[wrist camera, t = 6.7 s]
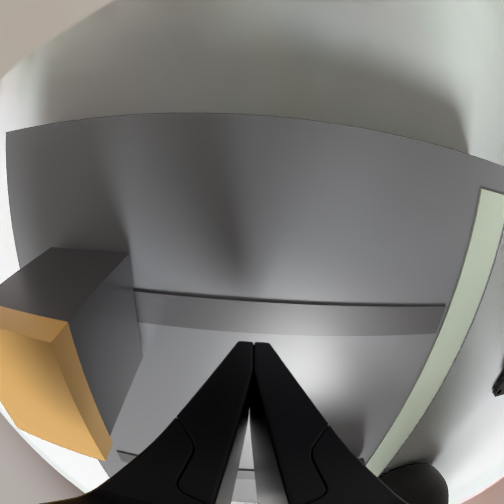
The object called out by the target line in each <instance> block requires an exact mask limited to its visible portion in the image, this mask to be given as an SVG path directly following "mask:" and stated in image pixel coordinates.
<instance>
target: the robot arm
mask: <svg viewBox="0 0 504 504" xmlns="http://www.w3.org/2000/svg"><path fill="white" fill-rule="evenodd" d="M492 393H493V394H494V396H495V397H496V396H499V395H502V394H504V373H503V375H502V377H501V378H500V380H499V382H498V383H497V385H496V386H495V388H494V390H493V392H492ZM249 409H250V410H249ZM248 419H249V420H250V433H251V443H252V453H253V464H254V473H255V483H256V493H257V502H258V504H408V503H407V502H405V501H404V500H402V499H401V498H400V497H399V496H397V495H396V494H395V493H394V492H393V491H392V490H391V489H389V488H388V487H387V486H386V485H385V484H384V483H383V482H382V481H381V480H380V479H379V478H378V477H377V476H375V475H374V474H373V473H372V472H371V471H370V470H369V469H368V468H367V467H366V466H365V465H364V464H363V463H362V462H361V461H360V460H359V459H358V458H357V457H356V456H355V455H354V454H353V453H352V452H351V451H350V450H349V448H348V447H347V446H346V445H345V444H344V442H343V441H342V440H341V439H340V438H339V436H338V435H337V434H336V433H335V431H334V430H333V429H332V427H331V426H328V425H329V424H328V422H327V421H326V419H325V418H324V417H323V415H322V414H321V413H320V411H319V410H318V409H317V407H316V406H315V405H314V403H313V402H312V401H311V399H310V398H309V397H308V395H307V394H306V393H305V391H304V390H303V389H302V387H301V386H300V384H299V383H298V382H297V380H296V379H295V378H294V376H293V375H292V374H291V372H290V371H289V369H288V368H287V367H286V365H285V364H284V362H283V361H282V360H281V358H280V357H279V355H278V354H277V353H276V351H275V350H274V348H273V347H272V346H271V344H270V343H266V342H255V343H254V344H253V342H249V341H238V342H237V343H236V344H235V346H234V347H233V348H232V350H231V351H230V352H229V353H228V354H227V356H226V357H225V358H224V359H223V361H222V362H221V363H220V364H219V366H218V367H217V368H216V369H215V371H214V372H213V373H212V374H211V375H210V377H209V378H208V379H207V380H206V382H205V383H204V384H203V385H202V386H201V388H200V389H199V390H198V391H197V392H196V394H195V395H194V396H193V397H192V398H191V400H190V401H189V402H188V403H187V404H186V406H185V407H184V408H183V409H182V410H181V411H180V413H179V414H178V415H177V418H174V419H173V421H172V422H171V423H170V424H169V425H168V426H167V428H166V429H165V430H164V431H163V432H162V433H161V434H160V435H159V436H158V437H157V438H156V439H155V440H154V441H153V442H152V443H151V444H150V445H149V446H148V447H147V448H146V449H144V450H143V451H142V452H141V453H140V454H139V455H138V456H136V457H135V458H134V459H133V460H132V461H130V462H129V463H128V464H127V465H125V466H124V467H123V468H122V469H120V470H119V471H118V472H117V473H115V474H114V475H113V476H112V477H110V478H109V479H108V480H107V481H105V482H104V483H103V484H101V485H100V486H99V487H97V488H95V489H94V490H92V491H90V492H88V493H86V494H84V495H81V496H78V497H74V498H70V499H65V500H59V501H54V502H48V503H41V504H231V500H232V496H233V491H234V487H235V482H236V478H237V473H238V468H239V464H240V459H241V454H242V449H243V444H244V440H245V435H246V430H247V425H248Z"/></svg>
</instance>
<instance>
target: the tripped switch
mask: <svg viewBox="0 0 504 504" xmlns="http://www.w3.org/2000/svg"><path fill="white" fill-rule="evenodd" d="M142 359H143V352H142V347H141V341H140V335H139V328H138V322H137V315H136V308H135V300H134V292H133V283H132V274H131V264H130V253H121V252H108V251H96V250H83V249H71V248H59V247H51V248H49V249H48V250H46V251H45V252H44V253H42V254H41V255H39V256H38V257H36V258H35V259H34V260H32V261H31V262H29V263H28V264H27V265H25V266H24V267H23V268H21V269H20V270H19V271H17V272H16V273H14V274H13V275H12V276H11V277H9V278H8V279H7V280H5V281H4V282H3V283H1V284H0V401H1V403H2V404H3V406H4V408H5V409H6V411H7V412H8V414H9V416H10V417H11V419H12V420H13V422H14V423H15V425H16V426H17V427H18V428H19V429H21V430H23V431H25V432H27V433H30V434H32V435H34V436H36V437H39V438H41V439H43V440H46V441H48V442H51V443H53V444H56V445H58V446H61V447H63V448H66V449H69V450H72V451H75V452H77V453H80V454H83V455H86V456H89V457H93V458H96V459H99V460H102V461H106V460H107V457H108V454H109V452H110V449H111V446H112V444H113V442H112V440H111V438H110V436H111V433H112V430H113V428H114V425H115V423H116V420H117V418H118V415H119V413H120V411H121V408H122V406H123V403H124V401H125V398H126V396H127V394H128V391H129V389H130V387H131V384H132V382H133V380H134V377H135V375H136V373H137V370H138V368H139V366H140V363H141V361H142Z"/></svg>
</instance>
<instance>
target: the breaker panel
mask: <svg viewBox="0 0 504 504" xmlns="http://www.w3.org/2000/svg"><path fill="white" fill-rule="evenodd" d="M6 168H7V184H8V195H9V205H10V213H11V221H12V228H13V234H14V240H15V246H16V251H17V256H18V261H19V266H20V269H21V268H23V267H24V266H25V265H27V264H28V263H29V262H31V261H32V260H34V259H35V258H36V257H38V256H39V255H41V254H42V253H44V252H45V251H46V250H48V249H49V248H51V247H59V248H71V249H83V250H96V251H108V252H121V253H130V264H131V274H132V283H133V292H134V300H135V308H136V315H137V322H138V328H139V335H140V341H141V347H142V352H143V359H142V361H141V363H140V366H139V368H138V370H137V373H136V375H135V377H134V380H133V382H132V384H131V387H130V389H129V391H128V394H127V396H126V398H125V401H124V403H123V406H122V408H121V411H120V413H119V415H118V418H117V420H116V423H115V425H114V428H113V430H112V433H111V436H110V438H111V440H112V442H113V444H112V446H111V449H110V452H109V454H108V457H107V460H106V461H102V460H99V459H98V461H99V462H100V464H101V465H102V467H103V468H104V470H105V471H106V473H107V474H108V476H109V477H112V476H113V475H114V474H115V473H117V472H118V471H119V470H120V469H122V468H123V467H124V466H125V465H127V464H128V463H129V462H130V461H132V460H133V459H134V458H135V457H136V456H138V455H139V454H140V453H141V452H142V451H143V450H144V449H146V448H147V447H148V446H149V445H150V444H151V443H152V442H153V441H154V440H155V439H156V438H157V437H158V436H159V435H160V434H161V433H162V432H163V431H164V430H165V429H166V428H167V426H168V425H169V424H170V423H171V422H172V421H173V419H174V418H177V415H178V414H179V413H180V411H181V410H182V409H183V408H184V407H185V406H186V404H187V403H188V402H189V401H190V400H191V398H192V397H193V396H194V395H195V394H196V392H197V391H198V390H199V389H200V388H201V386H202V385H203V384H204V383H205V382H206V380H207V379H208V378H209V377H210V375H211V374H212V373H213V372H214V371H215V369H216V368H217V367H218V366H219V364H220V363H221V362H222V361H223V359H224V358H225V357H226V356H227V354H228V353H229V352H230V351H231V350H232V348H233V347H234V346H235V344H236V343H237V342H238V341H249V342H253V344H254V343H255V342H266V343H270V344H271V346H272V347H273V348H274V350H275V351H276V353H277V354H278V355H279V357H280V358H281V360H282V361H283V362H284V364H285V365H286V367H287V368H288V369H289V371H290V372H291V374H292V375H293V376H294V378H295V379H296V380H297V382H298V383H299V384H300V386H301V387H302V389H303V390H304V391H305V393H306V394H307V395H308V397H309V398H310V399H311V401H312V402H313V403H314V405H315V406H316V407H317V409H318V410H319V411H320V413H321V414H322V415H323V417H324V418H325V419H326V421H327V422H328V424H329V425H328V426H331V427H332V429H333V430H334V431H335V433H336V434H337V435H338V436H339V438H340V439H341V440H342V441H343V442H344V444H345V445H346V446H347V447H348V448H349V450H350V451H351V452H352V453H353V454H354V455H355V456H356V457H357V458H364V461H365V465H366V467H367V468H368V469H369V470H370V471H371V472H372V473H373V474H374V475H375V476H377V477H379V475H380V474H381V473H382V472H383V471H384V469H385V468H386V467H387V466H388V464H389V463H390V462H391V461H392V459H393V458H394V457H395V455H396V454H397V453H398V451H399V450H400V449H401V447H402V446H403V445H404V443H405V442H406V441H407V439H408V438H409V436H410V435H411V433H412V432H413V431H414V429H415V428H416V426H417V425H418V423H419V422H420V420H421V419H422V417H423V416H424V414H425V412H426V411H427V409H428V408H429V406H430V404H431V403H432V401H433V399H434V398H435V396H436V394H437V393H438V391H439V389H440V388H441V386H442V384H443V382H444V380H445V379H446V377H447V375H448V373H449V371H450V369H451V367H452V365H453V364H454V362H455V360H456V358H457V356H458V354H459V352H460V349H461V347H462V345H463V343H464V341H465V339H466V337H467V334H468V332H469V330H470V328H471V325H472V323H473V321H474V318H475V316H476V313H477V311H478V308H479V306H480V303H481V301H482V298H483V295H484V292H485V290H486V287H487V284H488V281H489V278H490V275H491V272H492V269H493V266H494V262H495V259H496V256H497V252H498V249H499V245H500V241H501V238H502V234H503V230H504V166H501V165H498V164H496V163H493V162H490V161H487V160H484V159H481V158H478V157H475V156H472V155H469V154H466V153H463V152H460V151H456V150H453V149H450V148H446V147H443V146H439V145H435V144H432V143H428V142H424V141H420V140H416V139H412V138H408V137H403V136H399V135H394V134H390V133H385V132H380V131H375V130H370V129H365V128H359V127H353V126H347V125H341V124H335V123H328V122H321V121H313V120H305V119H296V118H287V117H276V116H264V115H249V114H229V113H153V114H134V115H119V116H108V117H97V118H88V119H80V120H72V121H65V122H58V123H52V124H46V125H40V126H35V127H30V128H24V129H20V130H15V131H10V132H6ZM249 410H250V409H249ZM231 501H236V502H257V493H256V483H255V473H254V464H253V453H252V443H251V433H250V420H249V419H248V425H247V430H246V435H245V440H244V444H243V449H242V454H241V459H240V464H239V468H238V473H237V478H236V482H235V487H234V491H233V496H232V500H231Z"/></svg>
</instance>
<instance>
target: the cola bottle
mask: <svg viewBox="0 0 504 504" xmlns="http://www.w3.org/2000/svg"><path fill="white" fill-rule="evenodd" d="M379 479H380V480H381V481H382V482H383V483H384V484H385V485H386V486H387V487H388V488H389V489H391V490H392V491H393V492H394V493H395V494H396V495H397V496H399V497H400V498H401V499H402V500H404V501H405V502H407V503H408V504H448V487H447V484H446V482H445V480H444V478H443V477H442V475H441V474H440V473H439V471H438V470H437V469H436V468H434V467H433V466H431V465H429V464H412V465H408V466H404V467H401V468H398V469H395V470H393V471H391V472H388V473H386V474H384V475H382V476H381V477H379Z"/></svg>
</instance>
